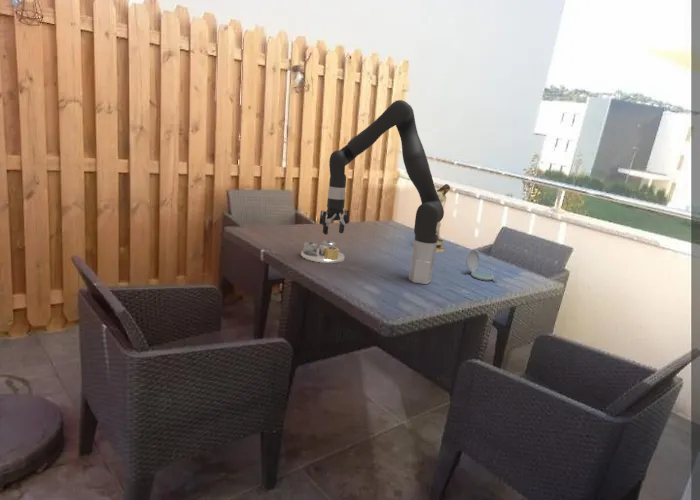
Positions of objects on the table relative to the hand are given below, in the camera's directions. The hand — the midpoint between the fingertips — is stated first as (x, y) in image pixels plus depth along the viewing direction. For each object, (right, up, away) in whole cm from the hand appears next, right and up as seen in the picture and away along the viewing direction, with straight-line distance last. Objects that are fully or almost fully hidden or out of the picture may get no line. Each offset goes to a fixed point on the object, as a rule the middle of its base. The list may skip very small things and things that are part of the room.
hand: (333, 233), depth 208 cm
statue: (+51, -6, +48) cm, 70 cm away
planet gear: (-1, -11, +3) cm, 11 cm away
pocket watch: (+67, -20, +4) cm, 70 cm away
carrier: (-5, -10, +8) cm, 14 cm away
